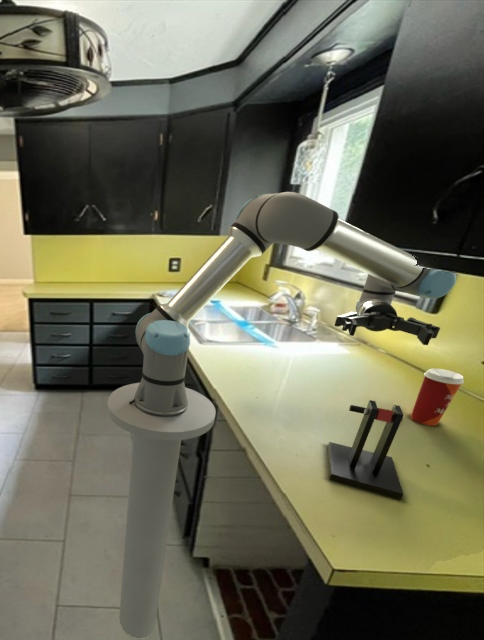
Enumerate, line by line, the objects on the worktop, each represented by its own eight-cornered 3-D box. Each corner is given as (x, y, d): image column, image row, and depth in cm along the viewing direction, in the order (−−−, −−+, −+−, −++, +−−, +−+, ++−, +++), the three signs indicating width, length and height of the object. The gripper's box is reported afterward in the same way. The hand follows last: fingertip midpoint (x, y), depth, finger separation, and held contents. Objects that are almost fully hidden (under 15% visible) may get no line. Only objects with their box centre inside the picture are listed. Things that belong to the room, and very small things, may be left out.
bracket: (327, 446, 87) (347, 387, 81) (389, 462, 82) (416, 400, 75) (329, 479, 76) (352, 414, 70) (401, 500, 71) (434, 431, 64)
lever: (348, 412, 85) (350, 402, 84) (390, 421, 81) (393, 411, 81) (358, 416, 74) (362, 404, 74) (408, 426, 70) (412, 414, 70)
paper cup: (444, 430, 94) (468, 381, 88) (406, 421, 98) (427, 374, 92) (440, 418, 100) (463, 372, 94) (405, 410, 104) (424, 365, 98)
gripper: (430, 335, 95) (454, 359, 79) (320, 322, 107) (321, 341, 90) (442, 306, 92) (470, 326, 76) (327, 296, 104) (330, 311, 87)
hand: (389, 334), depth 83 cm, fingers open, 13 cm apart
